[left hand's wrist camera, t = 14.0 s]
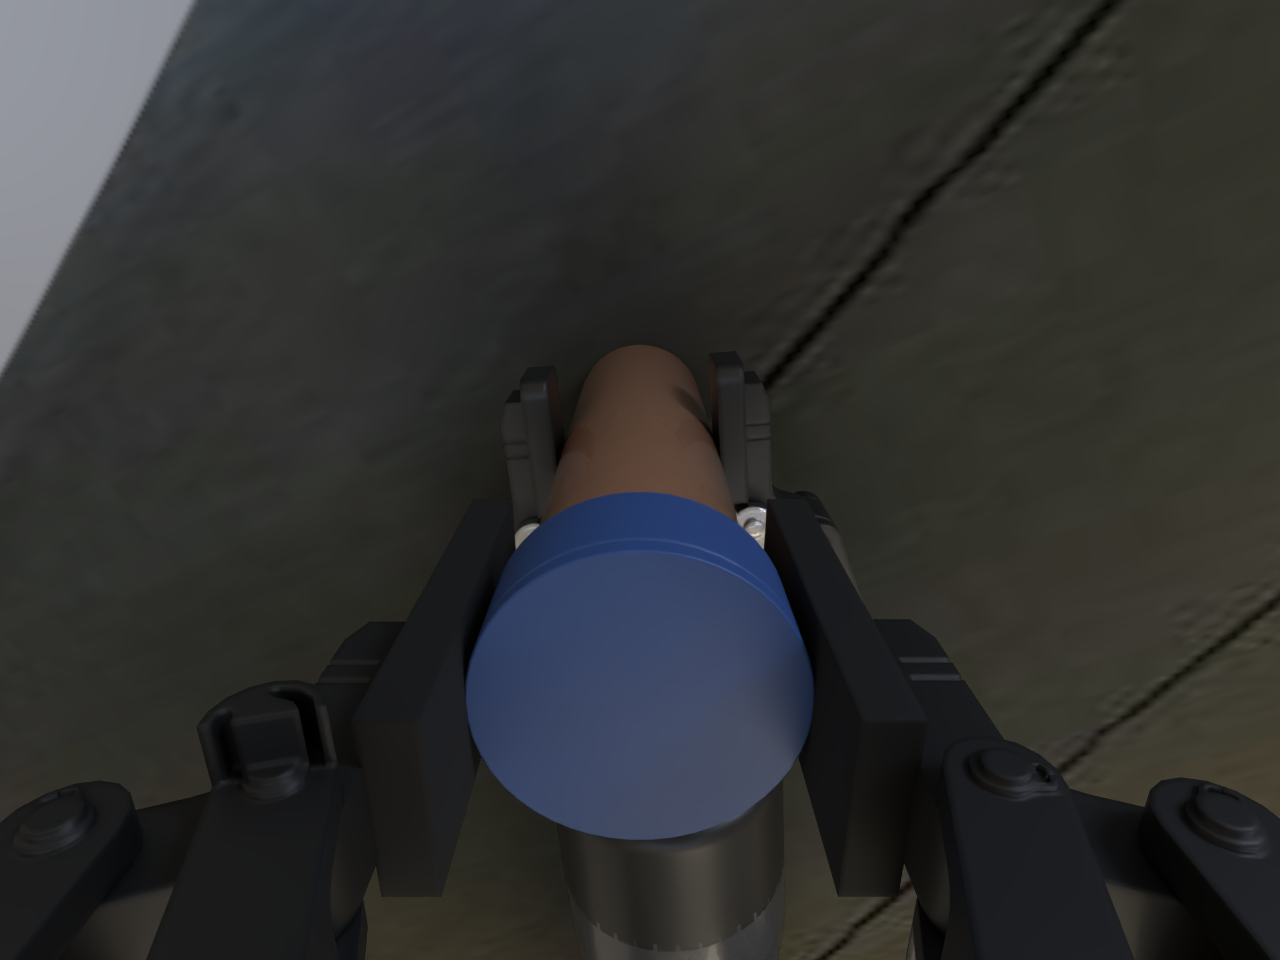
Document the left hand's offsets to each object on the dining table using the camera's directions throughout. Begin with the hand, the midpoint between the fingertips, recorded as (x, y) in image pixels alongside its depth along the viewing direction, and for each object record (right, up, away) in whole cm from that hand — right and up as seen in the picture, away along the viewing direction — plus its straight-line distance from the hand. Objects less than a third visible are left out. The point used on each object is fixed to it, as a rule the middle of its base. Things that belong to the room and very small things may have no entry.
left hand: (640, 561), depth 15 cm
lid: (0, -1, -4) cm, 4 cm away
